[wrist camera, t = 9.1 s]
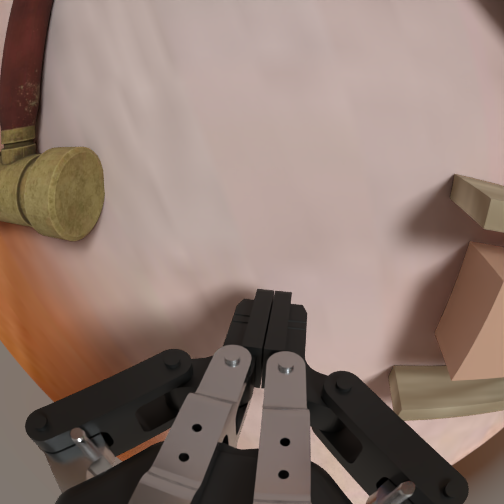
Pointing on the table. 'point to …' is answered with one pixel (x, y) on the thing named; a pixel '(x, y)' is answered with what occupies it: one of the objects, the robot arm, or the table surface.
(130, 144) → the table surface
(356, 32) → the table surface
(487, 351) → the peach wooden cube
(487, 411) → the corral
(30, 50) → the gavel
